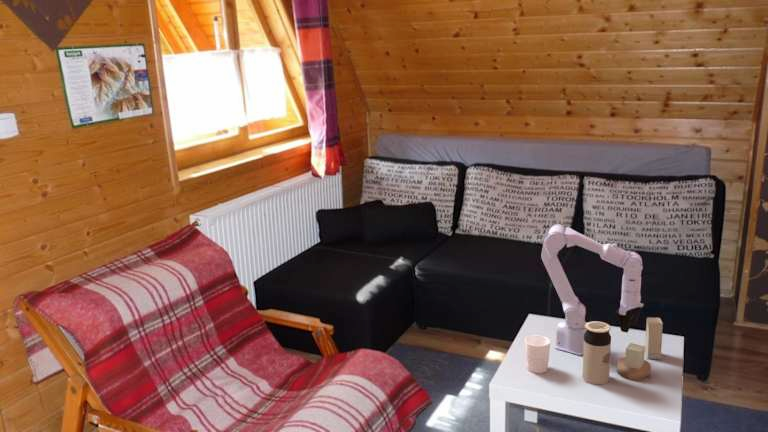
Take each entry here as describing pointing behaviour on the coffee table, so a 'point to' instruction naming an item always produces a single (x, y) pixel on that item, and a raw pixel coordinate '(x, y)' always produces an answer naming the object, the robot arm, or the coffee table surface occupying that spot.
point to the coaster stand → (633, 371)
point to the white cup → (537, 353)
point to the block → (635, 355)
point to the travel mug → (596, 352)
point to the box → (653, 338)
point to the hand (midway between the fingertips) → (628, 327)
